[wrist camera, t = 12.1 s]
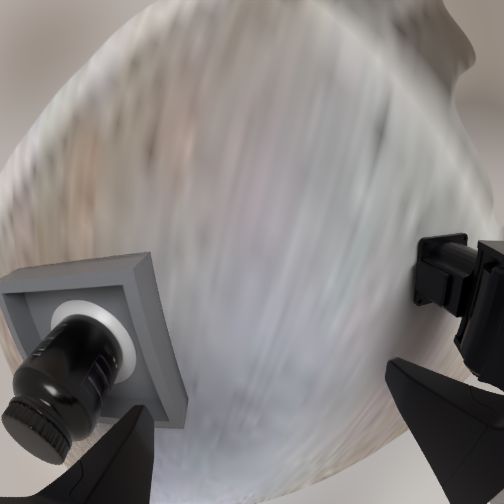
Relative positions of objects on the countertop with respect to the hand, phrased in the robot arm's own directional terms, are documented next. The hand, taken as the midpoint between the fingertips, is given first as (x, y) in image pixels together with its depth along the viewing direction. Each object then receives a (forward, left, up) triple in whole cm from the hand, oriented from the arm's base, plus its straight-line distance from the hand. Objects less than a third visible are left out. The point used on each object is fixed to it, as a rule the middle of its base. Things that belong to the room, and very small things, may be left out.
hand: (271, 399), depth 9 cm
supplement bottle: (+15, +5, -12) cm, 19 cm away
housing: (+15, +5, -13) cm, 20 cm away
